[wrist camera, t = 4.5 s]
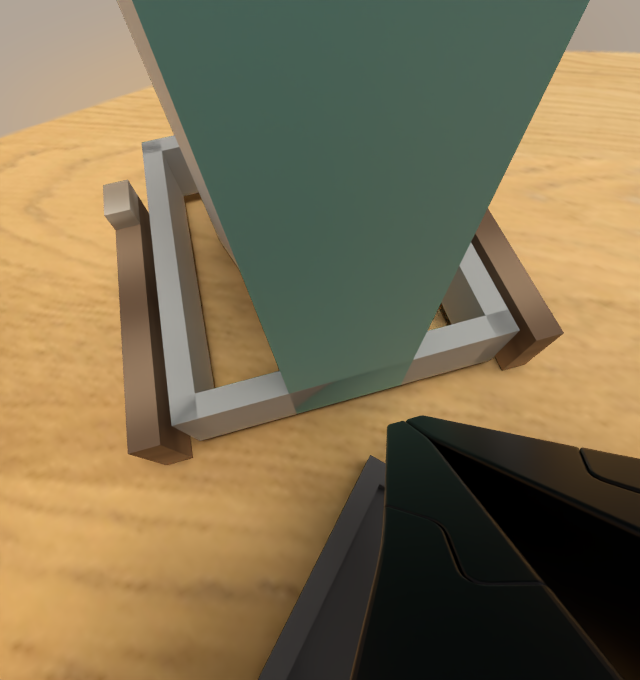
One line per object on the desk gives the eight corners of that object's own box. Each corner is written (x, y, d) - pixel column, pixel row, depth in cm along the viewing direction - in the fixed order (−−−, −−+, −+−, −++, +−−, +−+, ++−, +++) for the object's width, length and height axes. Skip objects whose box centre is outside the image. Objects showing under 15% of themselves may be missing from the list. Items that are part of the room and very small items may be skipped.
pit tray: (496, 874, 12) (522, 933, 10) (255, 684, 14) (244, 706, 12) (574, 579, 15) (603, 587, 13) (367, 460, 17) (370, 455, 15)
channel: (525, 364, 19) (578, 321, 14) (166, 464, 17) (113, 449, 13) (424, 178, 24) (442, 108, 20) (145, 244, 23) (103, 185, 19)
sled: (490, 359, 18) (1118, -273, 4) (200, 440, 17) (-592, 17, 3) (380, 139, 25) (441, -398, 10) (165, 188, 24) (-108, -332, 9)
